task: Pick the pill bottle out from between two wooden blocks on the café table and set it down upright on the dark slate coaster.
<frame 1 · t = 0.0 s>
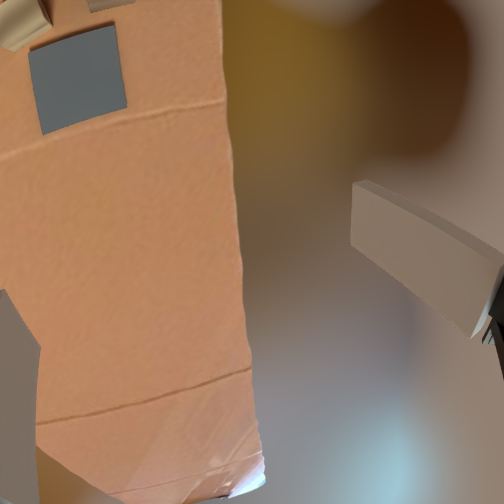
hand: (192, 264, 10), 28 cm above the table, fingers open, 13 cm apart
oak block: (27, 23, 20), on the table
slate coaster: (76, 78, 26), on the table
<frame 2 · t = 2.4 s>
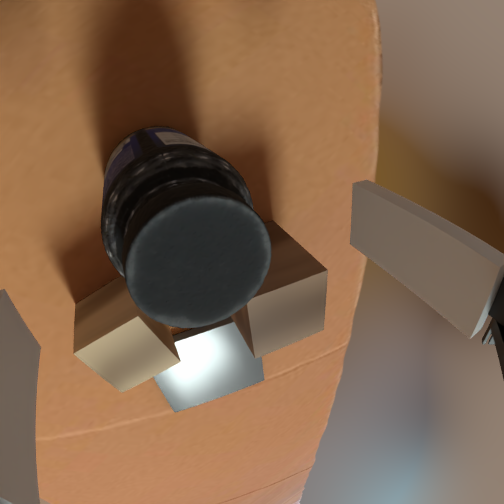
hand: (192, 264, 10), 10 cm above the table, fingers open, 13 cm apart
oak block: (121, 309, 22), on the table
slate coaster: (207, 364, 28), on the table
walnut block: (245, 258, 24), on the table
pill bottle: (154, 173, 18), on the table
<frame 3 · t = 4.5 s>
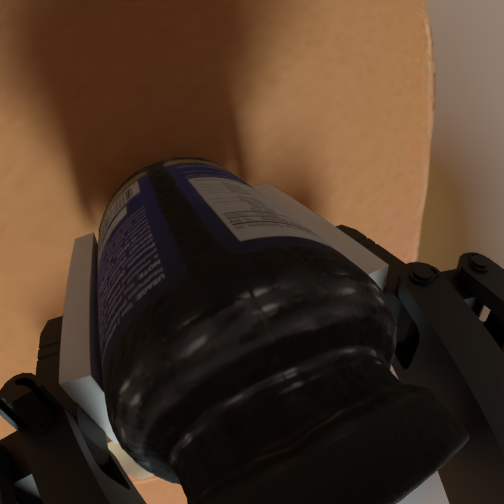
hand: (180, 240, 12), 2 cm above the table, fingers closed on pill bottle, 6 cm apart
oak block: (133, 386, 17), on the table
pill bottle: (177, 229, 12), point 2 cm above the table, touching gripper
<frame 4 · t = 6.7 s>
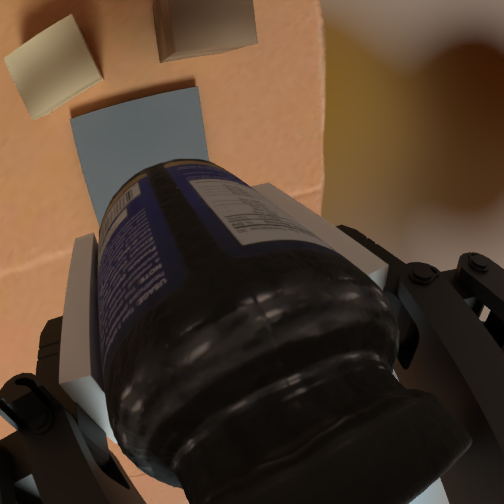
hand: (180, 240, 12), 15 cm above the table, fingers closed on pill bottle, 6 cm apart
oak block: (62, 70, 17), on the table
slate coaster: (144, 159, 23), on the table
walnut block: (187, 29, 19), on the table
pill bottle: (177, 231, 12), point 14 cm above the table, touching gripper
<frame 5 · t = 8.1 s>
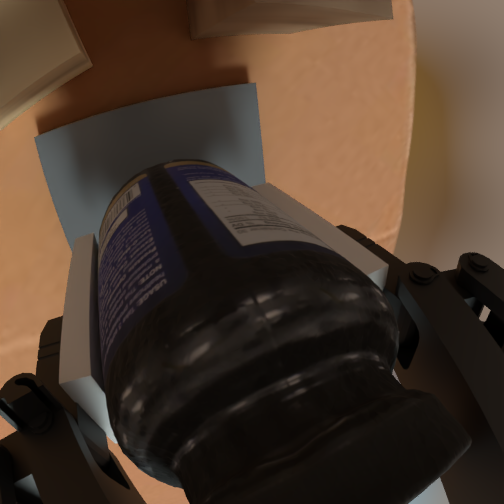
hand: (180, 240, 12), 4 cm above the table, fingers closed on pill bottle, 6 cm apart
oak block: (24, 53, 9), on the table
slate coaster: (164, 202, 15), on the table
pill bottle: (177, 231, 12), point 3 cm above the table, touching gripper
when the fingers open (2 cm above the table, at t = 9.1 s): pill bottle drops 1 cm, resting on slate coaster.
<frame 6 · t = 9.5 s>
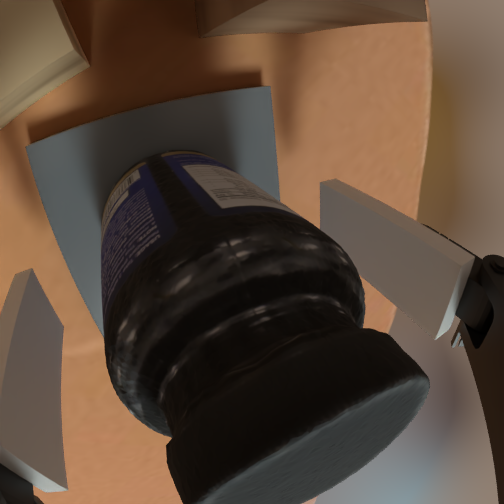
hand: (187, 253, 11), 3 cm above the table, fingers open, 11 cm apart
oak block: (15, 53, 8), on the table
slate coaster: (169, 217, 14), on the table
pill bottle: (173, 216, 13), point 1 cm above the table, touching slate coaster
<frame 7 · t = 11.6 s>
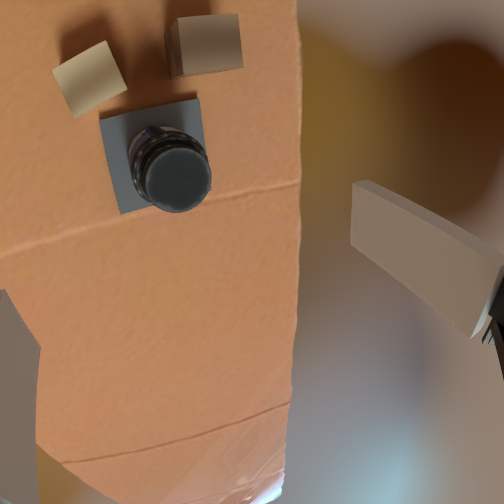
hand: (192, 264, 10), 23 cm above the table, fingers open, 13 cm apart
oak block: (93, 82, 24), on the table
slate coaster: (156, 154, 30), on the table
walnut block: (191, 52, 26), on the table
pill bottle: (157, 153, 29), point 1 cm above the table, touching slate coaster
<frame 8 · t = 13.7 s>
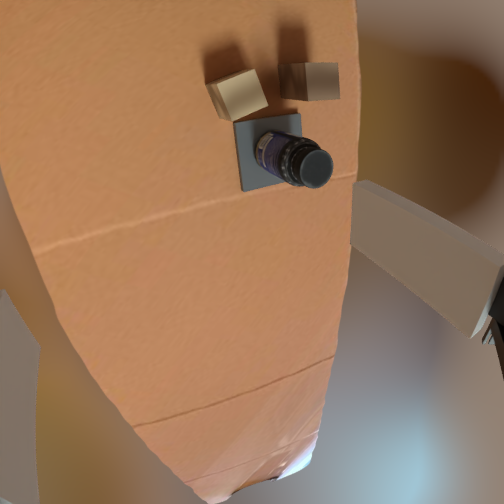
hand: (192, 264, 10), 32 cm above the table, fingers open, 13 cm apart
oak block: (229, 94, 38), on the table
slate coaster: (269, 150, 44), on the table
walnut block: (294, 80, 40), on the table
pill bottle: (272, 149, 43), point 1 cm above the table, touching slate coaster
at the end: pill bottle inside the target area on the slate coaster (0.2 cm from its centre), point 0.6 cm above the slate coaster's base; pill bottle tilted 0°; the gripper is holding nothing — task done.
